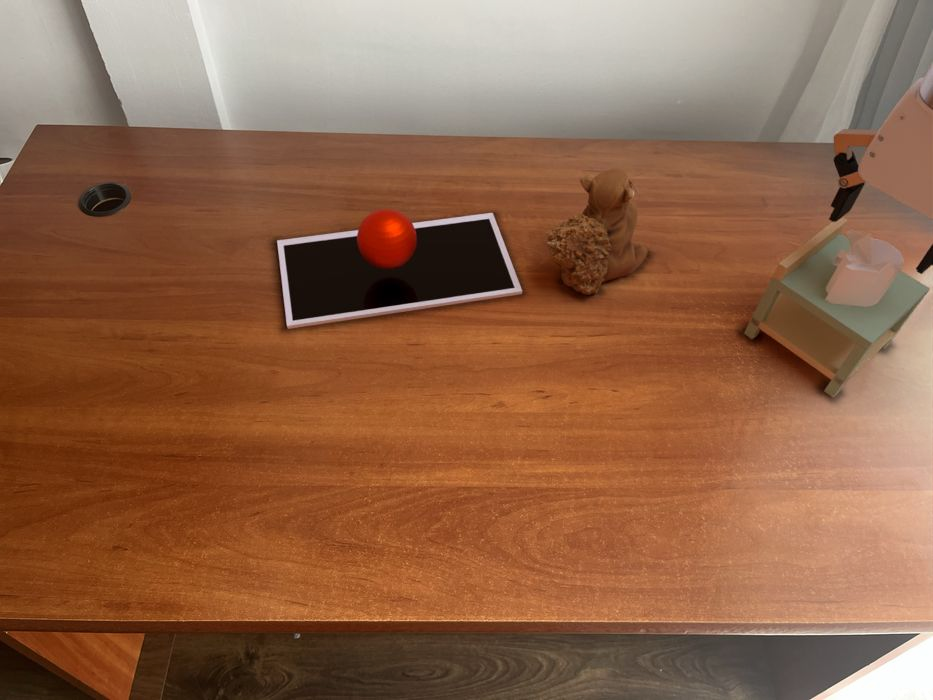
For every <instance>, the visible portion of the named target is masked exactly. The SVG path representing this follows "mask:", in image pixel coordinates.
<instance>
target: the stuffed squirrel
mask: <svg viewBox="0 0 933 700" xmlns="http://www.w3.org/2000/svg"><path fill="white" fill-rule="evenodd" d="M579 183H580V184H581V187H582V188H583V190H584V191H585V192H586V193H587V194H588V200H587V205H586V206H585V208H584V210H583V211H582V212H581V213H580V214H579V213H574V214H572V215H571V218H568V220H563V222H562V223H560V224H559V225H555V226H554V228H552V229H551V230H548V231H547V232H545V235H546V236H545V237H546V240H547V242H543V245H544V246H546V247H545V248H546V249H547V248H548V250H550V258H551V259H552V261H553V262H554V263H557V264H558V265H560V266H561V268H560V269H561V273H560V276H561V280H562V281H563V283H564V285H565V286H567V287H571V288H572V289H573V290H574V291H575V292H578V293H579V292H580V293H581V294H582V295H593V294H597V293H598V292H599V290H600V289H601V285H602V284H603V283H604V282H607V281H611V280H614V279H619V278H622V277H626V276H631V274H632V273H634V272H635V270H637V269H638V268H639V267H640V266H641V265H642V264H643V262H645V259H646V258H647V256H648V251H649V250H648V249H647V247H645V246H643V245H642V244H633V241H632V238H633V235H634V231H635V229H636V224H637V220H638V206H637V204H636V203H635V202H634V201H632V200H631V199H633V198H634V196H635V193H637V194H639V193H640V192H639V189H638V188H637V186H636V185H635V184H634V182H632V180H631V179H629V177H628V174H627V173H626V171H624V170H623V169H620V168H613V169H607V170H604V171H603V172H599V173H598V174H596V175H595V176H594V177H591V176H590V175H588V174H582V175H581V176H580V178H579ZM633 187H634V189H635V191H634V189H633Z"/></svg>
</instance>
